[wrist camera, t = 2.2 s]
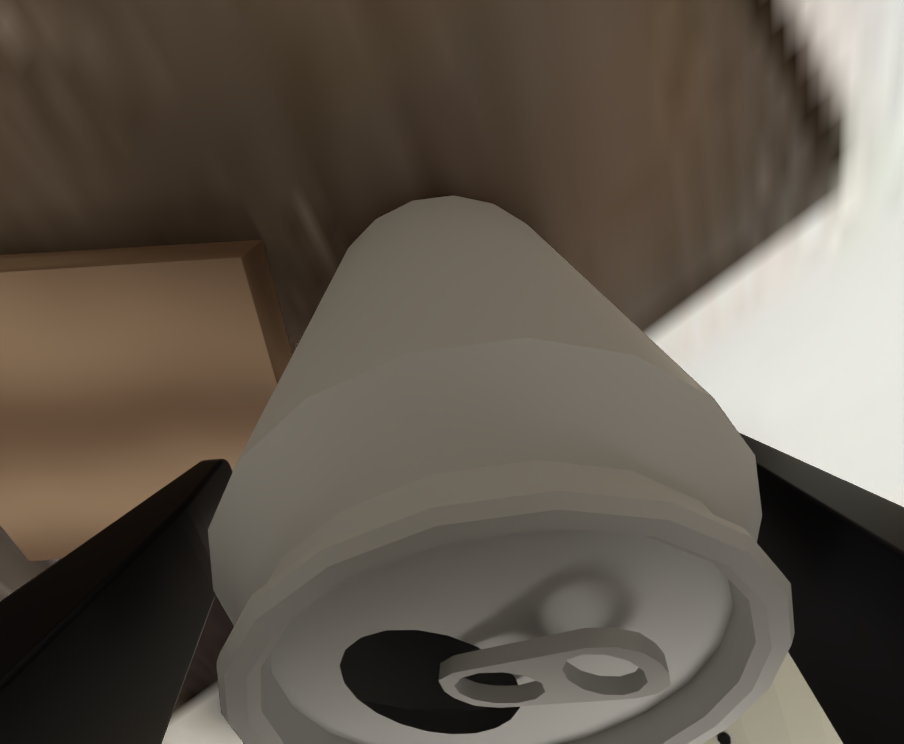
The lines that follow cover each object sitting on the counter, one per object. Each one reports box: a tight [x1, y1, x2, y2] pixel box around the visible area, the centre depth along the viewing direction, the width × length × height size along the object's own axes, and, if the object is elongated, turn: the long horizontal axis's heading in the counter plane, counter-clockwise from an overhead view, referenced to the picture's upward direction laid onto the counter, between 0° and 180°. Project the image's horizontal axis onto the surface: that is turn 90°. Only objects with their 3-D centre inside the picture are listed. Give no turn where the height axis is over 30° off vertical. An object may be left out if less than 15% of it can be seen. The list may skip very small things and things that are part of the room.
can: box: [208, 195, 795, 744], centre depth 10 cm, size 8×8×12 cm
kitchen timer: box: [702, 653, 843, 744], centre depth 17 cm, size 14×14×15 cm
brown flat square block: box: [0, 240, 292, 561], centre depth 15 cm, size 11×11×2 cm
